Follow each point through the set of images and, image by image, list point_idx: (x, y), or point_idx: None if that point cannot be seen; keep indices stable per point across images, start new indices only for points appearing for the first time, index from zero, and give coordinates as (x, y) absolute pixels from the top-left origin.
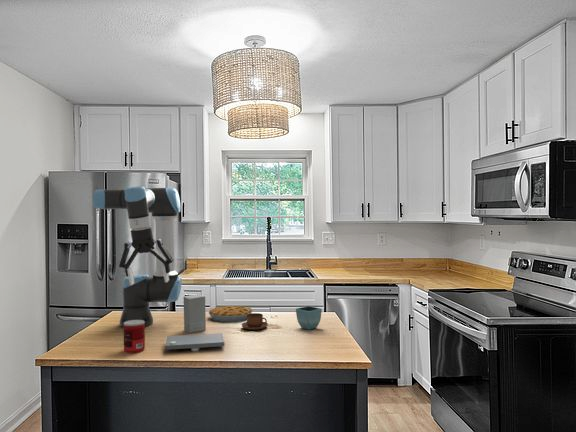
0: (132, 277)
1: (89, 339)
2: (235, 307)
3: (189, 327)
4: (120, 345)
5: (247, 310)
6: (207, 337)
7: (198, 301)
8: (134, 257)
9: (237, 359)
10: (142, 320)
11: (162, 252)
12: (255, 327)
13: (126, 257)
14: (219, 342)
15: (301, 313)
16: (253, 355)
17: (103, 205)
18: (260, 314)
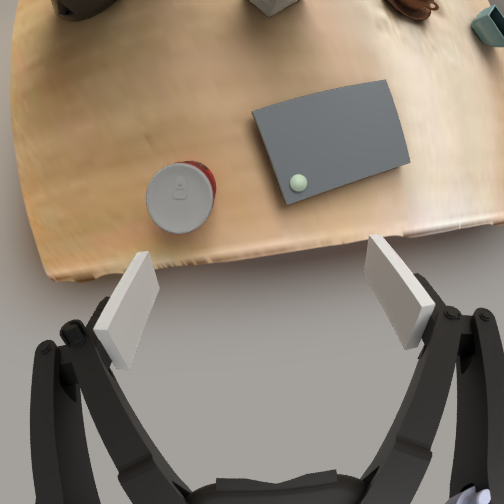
0: (140, 291)
1: (41, 130)
2: None
3: (272, 11)
4: (131, 153)
5: None
6: (366, 119)
7: None
8: (140, 430)
9: (427, 222)
10: (195, 171)
11: (459, 431)
12: (418, 19)
13: (62, 415)
14: (401, 165)
15: (493, 30)
16: (446, 196)
17: None
18: None
